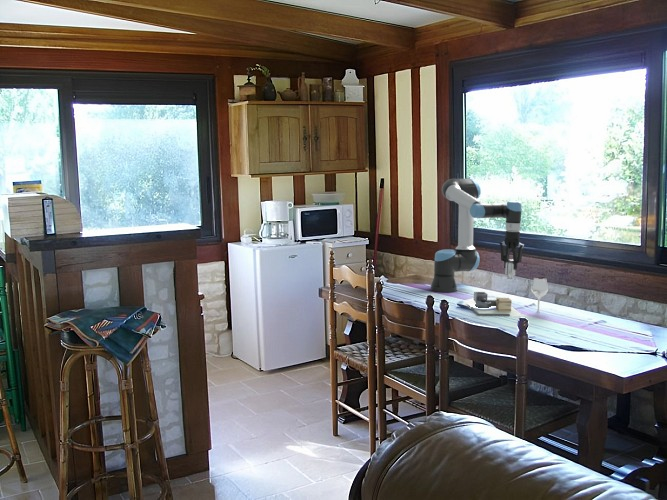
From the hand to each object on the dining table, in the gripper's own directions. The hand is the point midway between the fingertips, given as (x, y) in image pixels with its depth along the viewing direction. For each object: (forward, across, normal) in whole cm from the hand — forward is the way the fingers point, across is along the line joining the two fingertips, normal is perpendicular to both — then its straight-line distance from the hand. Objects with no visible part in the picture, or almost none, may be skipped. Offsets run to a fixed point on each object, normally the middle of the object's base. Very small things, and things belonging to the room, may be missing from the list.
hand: (510, 275), depth 366 cm
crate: (+16, +6, -16) cm, 23 cm away
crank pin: (+2, 0, 0) cm, 2 cm away
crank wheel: (+15, -3, -12) cm, 20 cm away
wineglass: (+16, +20, -6) cm, 26 cm away
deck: (+16, +1, -18) cm, 24 cm away
